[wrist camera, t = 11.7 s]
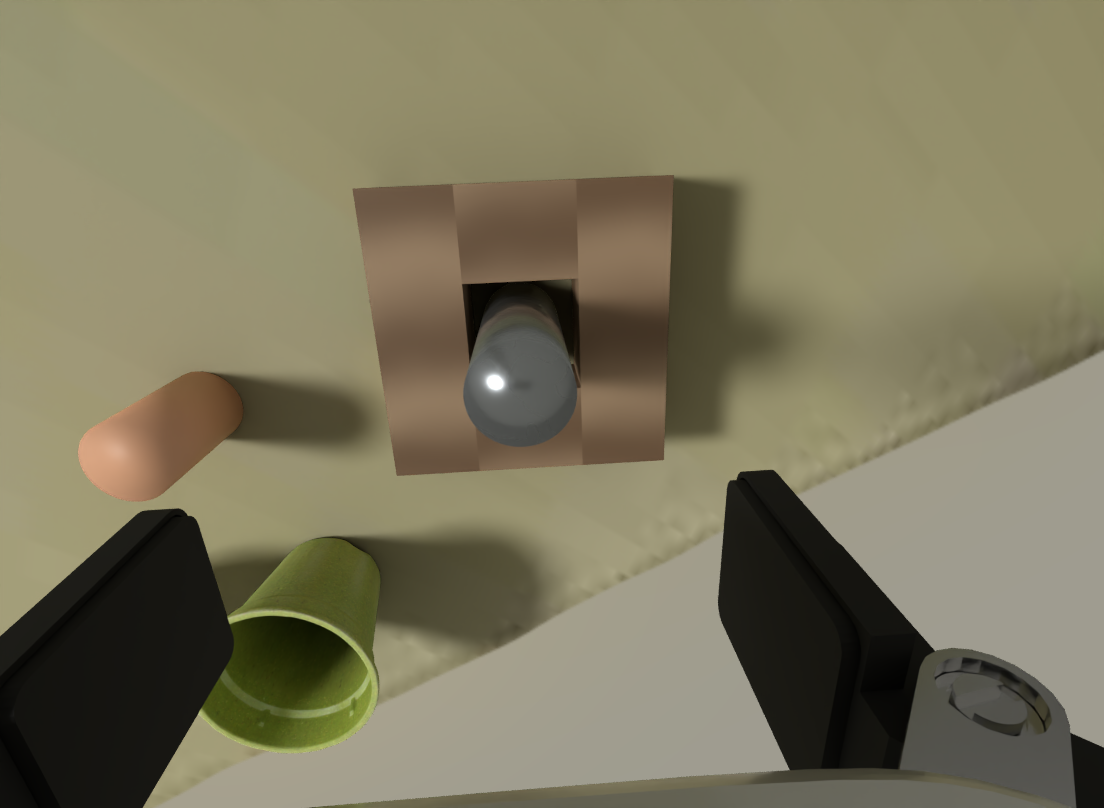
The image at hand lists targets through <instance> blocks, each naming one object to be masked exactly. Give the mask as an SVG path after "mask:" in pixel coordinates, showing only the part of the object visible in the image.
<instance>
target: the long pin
mask: <svg viewBox="0 0 1104 808" xmlns="http://www.w3.org/2000/svg"><path fill="white" fill-rule="evenodd" d="M463 399H464V405H465V408H466V411H467V414H468V416H469V418H470V420H471V421H472V423H473V424H474V425H475V427H476V428H477V429H478V430H479V431H480V432H481V433H482V434H484V435H485V436H486V437H488V438H489V439H491V440H493V441H495V442H498V443H500V444H503V445H507V446H513V447H527V446H533V445H537V444H540V443H543V442H545V441H547V440H549V439H551V438H553V437H554V436H555V435H557V434H558V433H559V432H560V431H561V430H562V429H563V428H564V427H565V426H566V425H567V423H568V422H569V420H570V419H571V417H572V415H573V413H574V410H575V407H576V402H577V385H576V381H575V377H574V373H573V370H572V366H571V362H570V359H569V355H568V351H567V348H566V344H565V340H564V337H563V333H562V329H561V326H560V322H559V318H558V315H557V311H556V308H555V305H554V303H553V301H552V299H551V298H550V297H549V295H548V294H547V293H546V292H545V291H543V290H542V289H541V288H539V287H537V286H535V285H533V284H529V283H524V282H517V283H511V284H508V285H505V286H503V287H501V288H500V289H498V290H497V291H496V292H495V293H494V294H493V295H492V296H491V297H490V299H489V301H488V302H487V305H486V307H485V311H484V314H483V318H482V321H481V325H480V329H479V332H478V336H477V339H476V343H475V346H474V350H473V353H472V357H471V360H470V364H469V368H468V371H467V375H466V378H465V382H464V388H463Z"/></svg>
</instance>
